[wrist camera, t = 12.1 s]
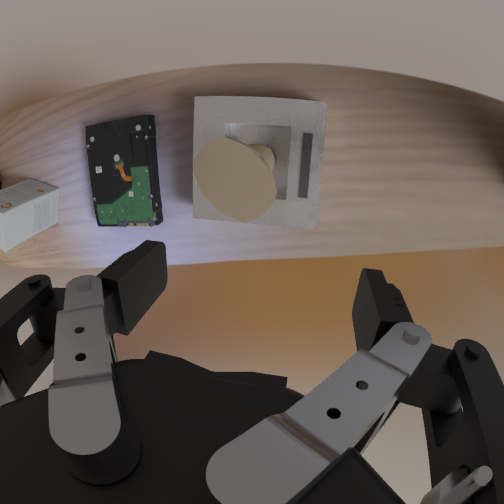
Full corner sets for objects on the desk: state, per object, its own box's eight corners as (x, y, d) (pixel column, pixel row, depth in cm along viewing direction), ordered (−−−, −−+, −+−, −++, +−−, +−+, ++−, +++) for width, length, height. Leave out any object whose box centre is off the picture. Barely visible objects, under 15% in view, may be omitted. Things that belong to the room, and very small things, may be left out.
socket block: (206, 99, 34) (194, 96, 30) (324, 104, 33) (327, 102, 28) (204, 207, 40) (192, 218, 36) (314, 218, 38) (315, 230, 34)
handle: (264, 191, 37) (239, 233, 23) (227, 151, 35) (180, 170, 22) (295, 165, 35) (290, 192, 21) (257, 124, 34) (227, 123, 20)
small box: (29, 210, 45) (-23, 236, 33) (30, 177, 42) (-26, 198, 31) (58, 223, 45) (5, 254, 33) (60, 187, 42) (2, 212, 30)
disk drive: (95, 125, 38) (107, 222, 44) (83, 126, 36) (96, 228, 41) (156, 113, 36) (166, 221, 42) (146, 113, 34) (157, 227, 40)
